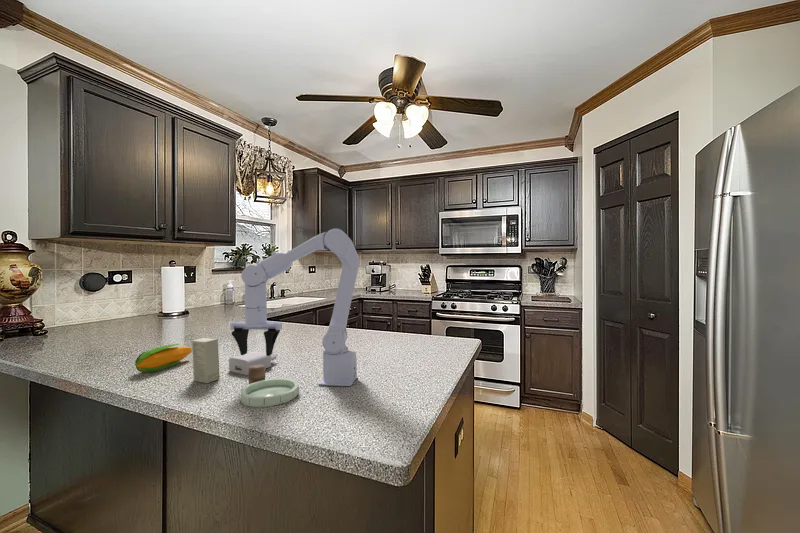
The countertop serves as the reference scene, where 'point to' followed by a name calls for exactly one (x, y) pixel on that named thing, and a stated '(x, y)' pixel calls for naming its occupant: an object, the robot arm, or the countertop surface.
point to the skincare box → (205, 360)
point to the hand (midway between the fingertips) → (256, 354)
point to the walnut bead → (256, 373)
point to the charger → (249, 361)
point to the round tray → (269, 392)
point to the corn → (161, 358)
